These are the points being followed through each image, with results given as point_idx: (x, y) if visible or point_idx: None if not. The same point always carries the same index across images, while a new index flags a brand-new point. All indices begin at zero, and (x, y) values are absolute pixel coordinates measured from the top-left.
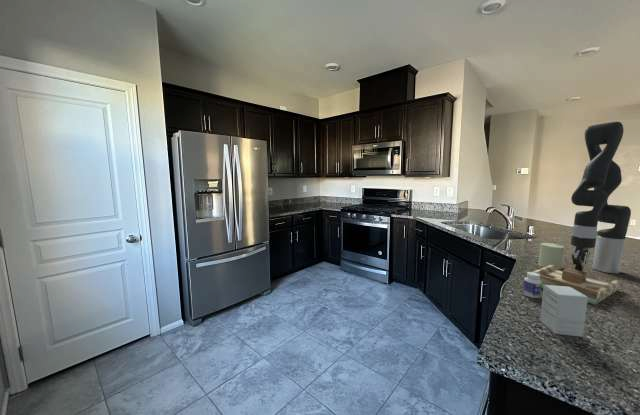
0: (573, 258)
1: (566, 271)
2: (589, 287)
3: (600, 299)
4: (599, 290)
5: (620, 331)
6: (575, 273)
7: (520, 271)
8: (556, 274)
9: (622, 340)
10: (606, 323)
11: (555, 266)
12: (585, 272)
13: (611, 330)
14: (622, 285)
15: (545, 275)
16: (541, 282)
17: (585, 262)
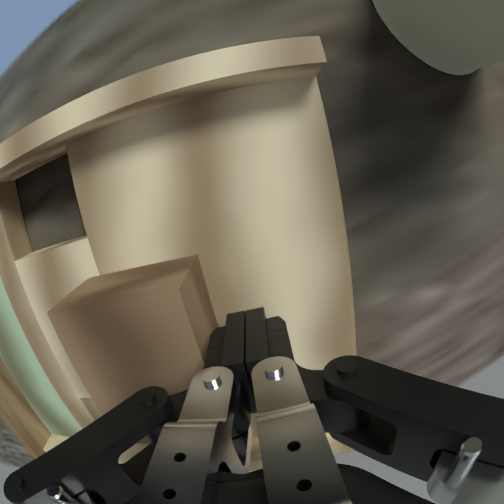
0: (47, 467)
1: (59, 338)
2: None
3: None
4: None
5: (20, 458)
6: (90, 391)
7: (70, 22)
8: (154, 187)
9: (5, 457)
10: (14, 445)
11: (425, 45)
12: None
13: (7, 449)
14: (447, 368)
15: (74, 162)
16: None
17: (332, 433)
